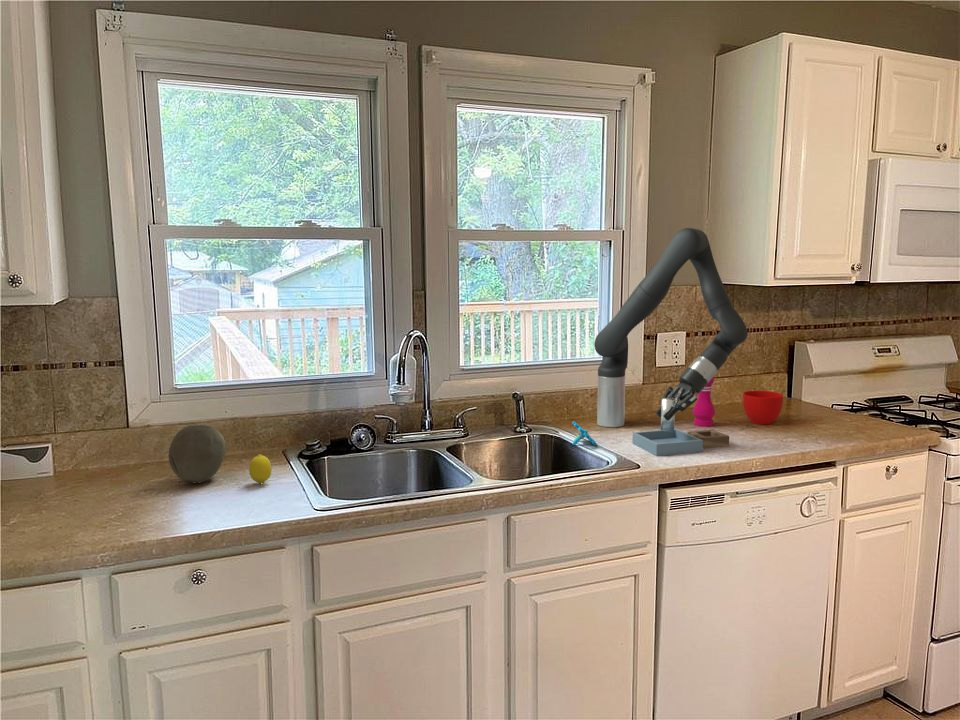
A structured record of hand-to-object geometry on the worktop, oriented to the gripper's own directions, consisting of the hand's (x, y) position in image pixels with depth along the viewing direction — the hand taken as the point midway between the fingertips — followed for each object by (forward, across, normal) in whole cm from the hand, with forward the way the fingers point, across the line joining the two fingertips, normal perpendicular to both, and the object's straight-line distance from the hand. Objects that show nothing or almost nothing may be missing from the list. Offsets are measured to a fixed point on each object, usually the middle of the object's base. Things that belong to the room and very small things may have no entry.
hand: (662, 416), depth 213 cm
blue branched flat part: (+21, -11, -8) cm, 25 cm away
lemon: (+89, 0, -76) cm, 117 cm away
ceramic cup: (-29, -21, +43) cm, 56 cm away
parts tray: (+6, 0, +8) cm, 10 cm away
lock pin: (+2, 0, +4) cm, 5 cm away
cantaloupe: (+100, -8, -87) cm, 133 cm away
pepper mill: (-13, -23, +27) cm, 38 cm away
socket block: (-5, -1, +18) cm, 19 cm away
